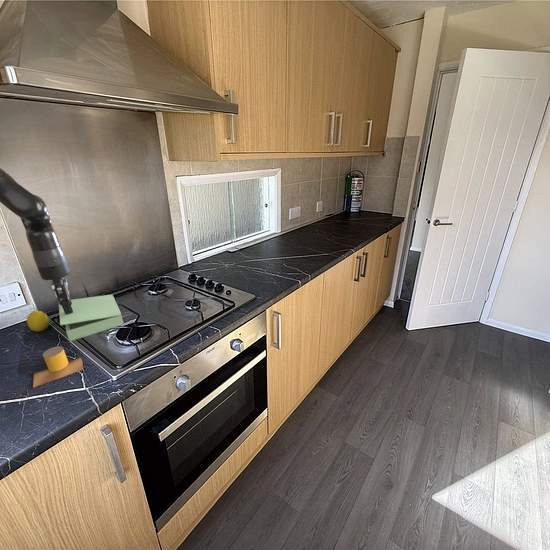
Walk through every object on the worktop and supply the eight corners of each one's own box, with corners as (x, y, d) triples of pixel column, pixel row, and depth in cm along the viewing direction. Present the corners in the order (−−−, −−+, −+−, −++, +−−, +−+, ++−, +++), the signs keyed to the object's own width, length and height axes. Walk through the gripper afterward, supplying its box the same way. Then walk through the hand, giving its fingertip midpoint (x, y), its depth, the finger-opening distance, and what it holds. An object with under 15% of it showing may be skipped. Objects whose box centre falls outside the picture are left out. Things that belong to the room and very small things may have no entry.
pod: (48, 374, 78) (42, 359, 76) (48, 364, 82) (42, 350, 80) (69, 367, 81) (63, 352, 79) (68, 358, 84) (62, 344, 82)
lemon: (54, 331, 98) (46, 310, 95) (34, 338, 94) (24, 317, 91) (50, 325, 102) (42, 305, 98) (30, 332, 98) (21, 311, 95)
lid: (60, 325, 88) (57, 307, 86) (58, 303, 102) (56, 287, 100) (121, 315, 98) (119, 299, 96) (112, 296, 111) (111, 281, 109)
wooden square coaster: (33, 387, 74) (33, 386, 74) (35, 364, 83) (34, 363, 82) (83, 369, 80) (83, 368, 80) (80, 349, 88) (79, 348, 88)
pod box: (70, 343, 91) (66, 331, 90) (67, 319, 105) (63, 309, 103) (124, 326, 100) (121, 315, 98) (115, 306, 113) (112, 296, 111)
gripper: (36, 258, 93) (54, 304, 100) (35, 271, 82) (55, 322, 89) (64, 253, 97) (80, 297, 103) (66, 265, 86) (84, 314, 93)
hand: (68, 309), depth 96 cm, fingers closed on lid, 6 cm apart
